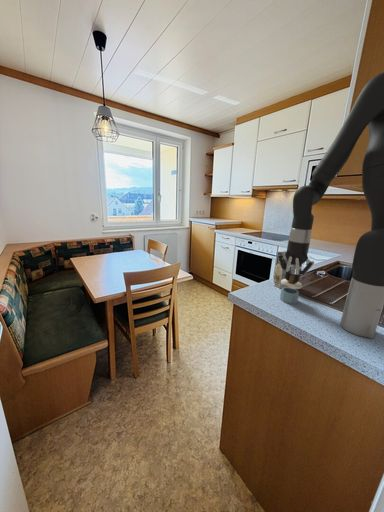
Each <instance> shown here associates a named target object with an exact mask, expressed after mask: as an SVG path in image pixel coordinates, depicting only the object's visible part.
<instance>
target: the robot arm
mask: <svg viewBox="0 0 384 512" xmlns="http://www.w3.org/2000/svg"><path fill="white" fill-rule="evenodd" d="M367 126H368V143H367V147H366V150H365V153H364V157H363V161H362V168H361V175H362V176H361V177H362V178H361V181H362V182H361V185H362V191H363V195H364V197H365V200H366V203H367V205H368V209H369V211H370V216H371V218H370V219H371V225H370V226H371V227H370V230H368V231H367V232H364V233H363V234H362V235H361V236H360V237H359V238H358V240H357V243H356V244H355V249H354V254H353V259H352V263H351V264H352V265H351V270H352V276H351V279H350V283H349V288H348V291H347V295H346V299H345V303H344V308H343V311H342V314H341V317H340V323H339V325H340V327H341V328H342V329H344V330H345V331H347V332H349V333H351V334H353V335H355V336H359V337H363V338H369V339H374V337H375V334H376V331H377V328H378V325H379V321H380V318H381V314H382V312H383V309H384V71H383V72H380V73H379V74H377V75H375V76H374V77H372V78H371V79H370V80H368V82H367V83H366V84H365V85H364V87H363V88H362V90H361V91H360V93H359V95H358V97H357V98H356V100H355V102H354V104H353V106H352V108H351V110H350V112H349V114H348V116H347V117H346V119H345V121H344V122H343V125H342V126H341V127H340V130H339V132H338V133H337V135H336V137H335V138H334V139H333V142H332V144H330V146H329V147H328V149H327V151H326V152H325V154H324V155H323V157H322V158H321V159H320V161H319V162H318V164H317V165H316V166H315V168H314V169H313V171H312V173H311V180H310V182H309V183H308V185H302V186H300V187H299V188H297V190H296V191H295V193H294V194H293V197H292V213H293V215H292V222H291V228H290V232H289V235H288V241H287V248H286V251H285V252H286V253H285V254H284V255H279V260H280V264H281V267H282V269H284V270H286V275H285V279H286V280H287V281H288V280H289V274H291V269H292V266H293V265H295V266H296V269H295V278H294V283H297V282H300V279H301V276H302V275H305V274H306V273H308V271H309V270H310V269H311V268H312V266H313V265H314V264H315V261H313V260H312V261H311V260H310V259H309V256H308V253H309V250H310V249H309V248H310V243H311V238H312V229H313V226H314V220H315V219H314V218H315V217H314V215H313V214H312V209H313V206H315V205H317V204H318V203H319V202H320V200H322V199H323V197H324V195H325V194H326V192H327V190H328V188H329V186H330V184H331V182H332V181H333V180H334V179H335V177H337V175H338V174H339V172H341V170H342V169H343V167H344V166H345V164H346V163H347V161H348V160H349V158H350V156H351V154H352V152H353V150H354V148H355V146H356V145H357V142H358V140H359V138H361V135H362V133H363V132H364V131H365V129H367ZM286 258H287V260H288V263H287V264H286V261H285V259H286ZM304 263H305V267H304V268H303V264H304Z"/></svg>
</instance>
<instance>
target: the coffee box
mask: <svg viewBox="0 0 384 512" xmlns="http://www.w3.org/2000/svg"><path fill="white" fill-rule="evenodd" d="M286 252H287V251H277V254H276V262H275V269H274V273H273V274H274V275H273V283H274V284H275V286H277V288H278V289H281V288H283V287H285V286H283V285H281V280H283V279H285V275H286V270H284V269H282V267H281V264H280V260H279V255H284V254H285V253H286ZM285 261H286V264H287V263H288V260H287V258H286V259H285ZM291 274H296V266H295V265H293V266H292V269H291Z"/></svg>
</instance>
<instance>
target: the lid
mask: <svg viewBox="0 0 384 512" xmlns="http://www.w3.org/2000/svg"><path fill="white" fill-rule="evenodd" d="M295 274H296V273H295ZM295 274H289V280H288V281H287V280H286V279H283V280H281V285H283V286H285V287H287V288H291V289H296V290H300V289H302V288H303V283H302V282H300V281H298V282H297V283H294V278H295Z"/></svg>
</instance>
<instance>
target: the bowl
mask: <svg viewBox="0 0 384 512" xmlns="http://www.w3.org/2000/svg"><path fill="white" fill-rule="evenodd" d="M280 289H281V290H280V295H279V296H280V297H279V300H281V301H282V302H283V303H286V304H288V305H289V304H290V305H296V304H297V303H298V301H299V295H300V291H299V289H291V288H287V287H283V288H280Z"/></svg>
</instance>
